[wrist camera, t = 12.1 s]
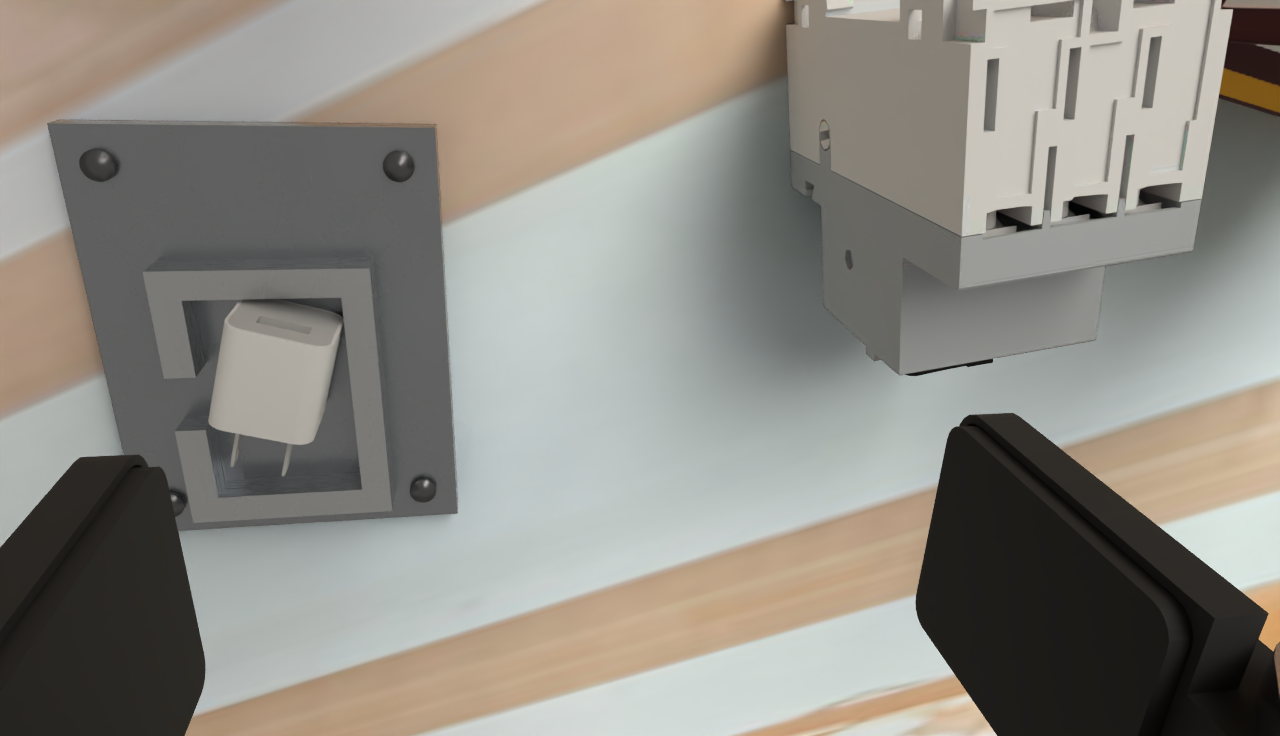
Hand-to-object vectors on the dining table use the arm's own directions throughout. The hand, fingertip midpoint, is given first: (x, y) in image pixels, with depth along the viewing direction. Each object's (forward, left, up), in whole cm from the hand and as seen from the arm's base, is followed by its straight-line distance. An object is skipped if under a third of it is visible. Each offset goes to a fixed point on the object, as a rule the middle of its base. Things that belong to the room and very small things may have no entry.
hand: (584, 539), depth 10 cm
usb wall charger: (+10, -10, -28) cm, 31 cm away
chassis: (+8, -10, -28) cm, 31 cm away
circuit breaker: (0, +16, -28) cm, 33 cm away
